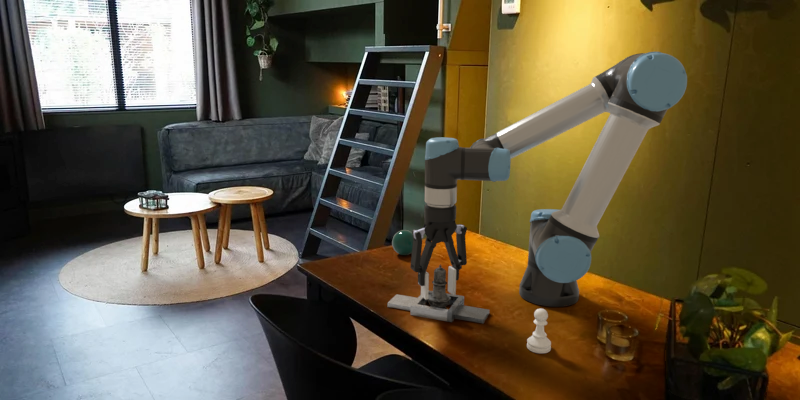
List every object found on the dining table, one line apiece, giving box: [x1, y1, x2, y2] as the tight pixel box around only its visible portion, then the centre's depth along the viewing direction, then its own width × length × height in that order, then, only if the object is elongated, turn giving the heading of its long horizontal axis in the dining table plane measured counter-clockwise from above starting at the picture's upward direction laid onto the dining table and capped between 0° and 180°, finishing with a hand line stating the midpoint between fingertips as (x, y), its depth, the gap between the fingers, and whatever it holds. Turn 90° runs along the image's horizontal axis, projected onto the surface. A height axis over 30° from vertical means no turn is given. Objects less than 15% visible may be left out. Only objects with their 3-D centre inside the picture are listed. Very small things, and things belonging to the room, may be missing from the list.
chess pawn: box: [526, 307, 552, 354], centre depth 121 cm, size 5×5×9 cm
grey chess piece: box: [427, 264, 451, 309], centre depth 139 cm, size 6×6×12 cm
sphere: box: [391, 229, 413, 256], centre depth 180 cm, size 8×8×8 cm
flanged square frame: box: [387, 290, 490, 324], centre depth 140 cm, size 24×10×2 cm, turn 68°
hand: (438, 294), depth 139 cm, fingers open, 7 cm apart
